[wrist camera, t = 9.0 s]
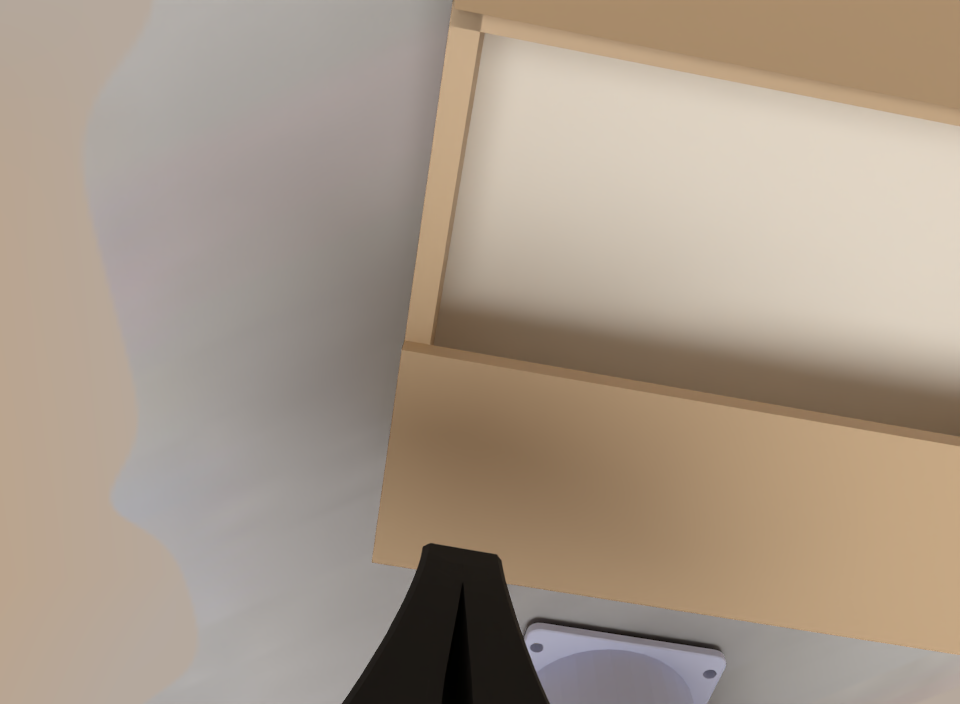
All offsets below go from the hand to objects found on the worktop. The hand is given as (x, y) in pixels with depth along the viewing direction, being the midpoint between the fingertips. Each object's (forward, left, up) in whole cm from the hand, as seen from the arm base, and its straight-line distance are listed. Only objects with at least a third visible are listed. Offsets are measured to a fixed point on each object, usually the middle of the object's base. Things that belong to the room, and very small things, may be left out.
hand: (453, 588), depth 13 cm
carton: (+2, -8, -10) cm, 13 cm away
